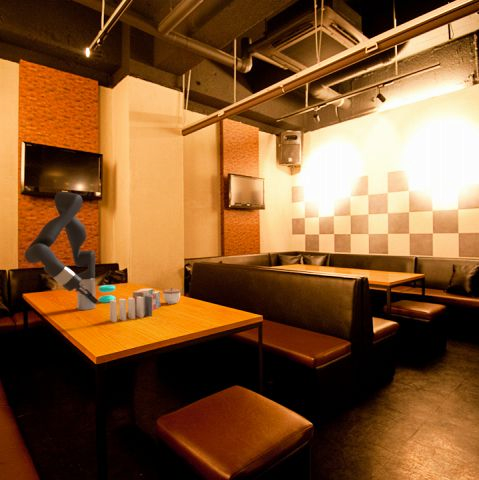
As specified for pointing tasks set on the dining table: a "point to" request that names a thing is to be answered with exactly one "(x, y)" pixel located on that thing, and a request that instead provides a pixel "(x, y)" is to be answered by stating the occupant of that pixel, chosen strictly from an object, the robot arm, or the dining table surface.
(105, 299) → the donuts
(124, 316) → the domino
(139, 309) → the domino
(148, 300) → the domino
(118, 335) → the dining table surface
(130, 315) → the domino
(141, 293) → the stack of blocks
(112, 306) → the domino
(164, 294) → the lidded jar
